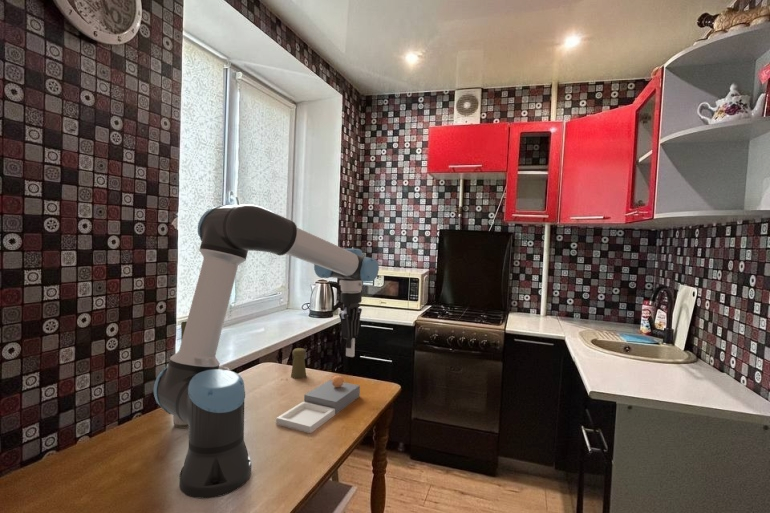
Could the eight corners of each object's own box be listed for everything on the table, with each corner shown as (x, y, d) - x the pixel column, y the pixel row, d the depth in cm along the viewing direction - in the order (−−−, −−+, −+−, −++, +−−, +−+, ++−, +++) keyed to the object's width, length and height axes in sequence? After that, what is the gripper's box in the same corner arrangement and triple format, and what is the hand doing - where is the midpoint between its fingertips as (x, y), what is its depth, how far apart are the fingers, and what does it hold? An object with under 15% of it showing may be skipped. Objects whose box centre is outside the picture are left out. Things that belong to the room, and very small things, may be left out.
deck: (335, 414, 127) (336, 401, 126) (304, 406, 131) (304, 394, 131) (359, 396, 141) (359, 385, 141) (330, 390, 146) (330, 379, 146)
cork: (309, 375, 161) (310, 348, 161) (298, 379, 156) (299, 351, 155) (298, 372, 164) (299, 345, 164) (287, 376, 159) (288, 349, 159)
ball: (339, 390, 136) (340, 378, 136) (329, 387, 138) (329, 376, 138) (345, 386, 140) (345, 374, 140) (335, 384, 142) (335, 373, 141)
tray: (310, 433, 114) (310, 426, 114) (276, 424, 119) (276, 417, 119) (335, 414, 126) (335, 408, 126) (303, 407, 131) (303, 401, 131)
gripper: (351, 294, 137) (350, 362, 139) (368, 290, 149) (367, 352, 150) (332, 293, 140) (331, 359, 142) (350, 288, 152) (349, 350, 153)
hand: (350, 356), depth 146 cm, fingers closed
